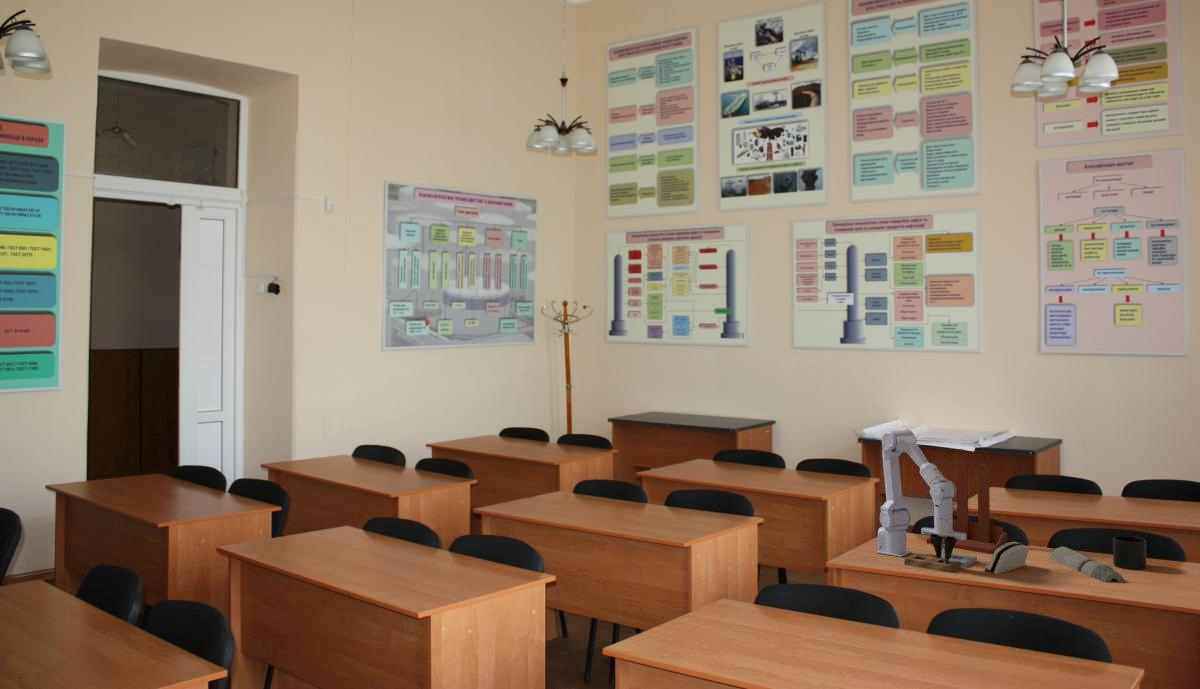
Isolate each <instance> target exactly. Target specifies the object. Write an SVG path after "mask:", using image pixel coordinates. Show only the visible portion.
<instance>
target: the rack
mask: <svg viewBox="0 0 1200 689" xmlns="http://www.w3.org/2000/svg"><path fill="white" fill-rule="evenodd" d="M903 560H904V563H903V564H904V565H906V566H911V567H916V568H917V567H918V568H924V569H930V570H936V571H941V572H946V573H952V572H954V571H956V570H957V571H958V569H959V570H960V569H961V568H962V567H961V561H955V560H948V564H944V563H940V558H937V556H929V555H923V554H918V553H917V554H916V553H914V554H911V555H909V556H907V557H904V558H903Z"/></svg>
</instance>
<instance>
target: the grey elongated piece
mask: <svg viewBox="0 0 1200 689" xmlns="http://www.w3.org/2000/svg"><path fill="white" fill-rule="evenodd" d="M1050 559H1051V560H1054V561H1055V562H1057V563H1060V564H1062V565H1064V566H1067V567H1068V568H1070V569H1073V570H1074V571H1076V572H1080V573H1081V574H1083V575H1085V576H1087V577H1088V578H1093V579H1096V580H1098V581H1101V582H1102V583H1110V582H1111V581H1112V580H1114V581H1116V582H1119V583H1120V582H1125V579H1124V576H1122V574H1121V573H1120V572H1118V571H1116V570H1114V568H1113V567H1111V566H1110V565H1108V564H1106V563H1103V562H1101V561H1099V560H1097V559H1094V558H1092V557H1089V556H1088V555H1085V554H1082V553H1081V552H1078V551H1076V550H1074V549H1071V548H1068V547H1066V546H1060V547H1057V548H1055V549H1054V550H1053V551H1052V552H1051V555H1050Z"/></svg>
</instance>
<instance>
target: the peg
mask: <svg viewBox="0 0 1200 689" xmlns="http://www.w3.org/2000/svg"><path fill="white" fill-rule="evenodd" d="M940 563H944V564H948V560H946V547H945V544H941V545H940Z"/></svg>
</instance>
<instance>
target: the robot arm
mask: <svg viewBox="0 0 1200 689" xmlns="http://www.w3.org/2000/svg"><path fill="white" fill-rule="evenodd" d="M880 438H881V448H882V450H881V455H882V468H883V477H884V478H883V479H884V488H885V499H886V501H885V502H884V503H883V504H882V505H881V506H880V514H879V521H880V525H881V526H880V527H879V528H878V531H877V551H876V553H877V554H883V555H889V556H895V557H900V558H901V557H904V556H907V555H909V554H912V551H911V550H908V547H907V529H908V528H909V525H910V524H911V522H912V514H911V512H910V509H909V505H908V504H907V503H906V502H904V500H903V491H902V481H901V480H902V479H901V470H900V459H899V457H900V456H901V455H902V453H906V454H907V455H908V456H909V457H910V458H911V459H912V461H913V462H914V463H915V464H916V465H917V466H918V468H919V475H920V476H921V477H922V478H923V480H924V481H925V484H927V485H928V487H929V494H930V497H931V499H932V504H933V524H934V526H933V527H922V528H921V529H920V530H921V535H928V536H929V538H930V541H931V542H932V544H931V545H932V546H933V549H934V552H935V555H936V556H935V557H937V558H940V545H941V544H942V538H943V537H947V538H946V539H944V542H945V547H946V560H949V559H951V554H952V553H953V550H954V549H955V548H954V546H955V543H956V542H957V540H958V539H961V540H965V539H966V533H961V532H957V531H953V527H952V520H953V498H954V497H956V495H957V487H956V485H955V483H954V482H953V481H952V480H948V479H947V478H945V477H944V476H943V474H942V472H940V470H939V469H938V466H937V465H936V464H934V463H930V462H929V461H928V459H927V458H926V455H925V454H924V453H923V451H922V449H921V448H920V447H919V445H918V444H917V443H918V442H917V441H918V440H917V436H916V435H915V433H914V432H913V431H912V430H911V429H908V428H906V429H901V430H887V431H886V432H884V434H883V435H882V436H881V437H880Z"/></svg>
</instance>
